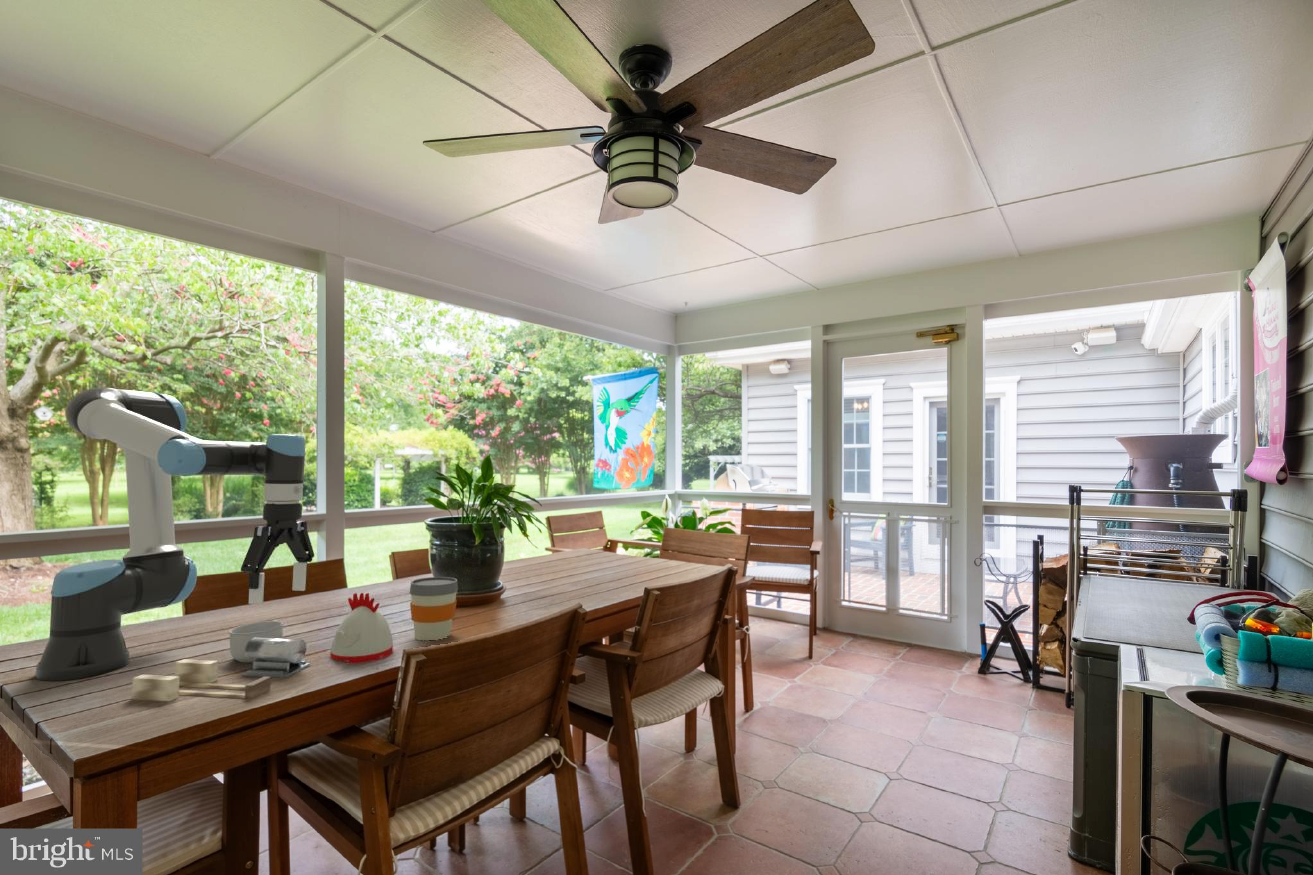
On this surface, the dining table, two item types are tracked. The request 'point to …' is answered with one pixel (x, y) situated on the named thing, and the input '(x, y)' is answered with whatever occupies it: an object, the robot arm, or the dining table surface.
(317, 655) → the dining table surface
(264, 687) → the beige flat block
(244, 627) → the teacup
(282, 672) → the v block
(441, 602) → the reusable coffee cup
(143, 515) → the robot arm
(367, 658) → the kitchen timer
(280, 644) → the axle
